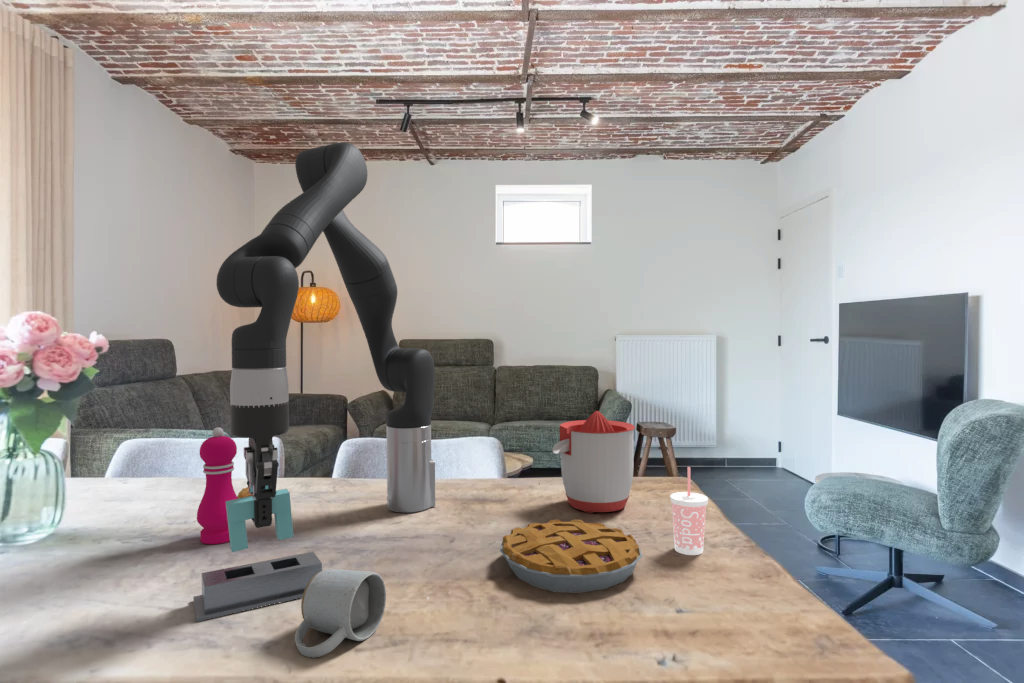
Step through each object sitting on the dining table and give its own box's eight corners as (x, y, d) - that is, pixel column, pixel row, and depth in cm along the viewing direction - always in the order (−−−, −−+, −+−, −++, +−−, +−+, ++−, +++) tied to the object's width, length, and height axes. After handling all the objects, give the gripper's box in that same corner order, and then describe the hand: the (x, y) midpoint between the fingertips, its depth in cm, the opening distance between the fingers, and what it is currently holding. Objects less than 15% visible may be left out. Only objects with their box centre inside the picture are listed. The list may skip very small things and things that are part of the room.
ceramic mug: (335, 611, 80) (334, 554, 79) (388, 622, 77) (386, 563, 76) (277, 654, 70) (275, 589, 69) (335, 668, 67) (333, 600, 66)
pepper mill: (224, 547, 103) (222, 431, 103) (187, 544, 105) (185, 430, 104) (250, 533, 110) (248, 424, 110) (216, 530, 112) (214, 423, 111)
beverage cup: (664, 551, 100) (664, 468, 100) (678, 540, 105) (678, 461, 105) (700, 559, 97) (700, 473, 96) (713, 548, 101) (713, 466, 101)
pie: (545, 612, 80) (545, 575, 79) (478, 556, 99) (477, 526, 99) (671, 579, 90) (671, 546, 89) (588, 534, 109) (588, 507, 109)
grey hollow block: (319, 574, 92) (318, 548, 92) (330, 591, 86) (330, 563, 86) (193, 601, 83) (192, 572, 83) (196, 622, 77) (196, 591, 77)
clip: (290, 532, 87) (286, 488, 87) (293, 537, 85) (289, 492, 85) (230, 547, 83) (225, 501, 83) (232, 552, 81) (227, 505, 81)
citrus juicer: (542, 499, 131) (541, 408, 130) (614, 492, 136) (614, 404, 135) (568, 521, 116) (567, 418, 115) (649, 513, 121) (649, 414, 120)
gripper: (298, 403, 80) (299, 533, 80) (279, 394, 92) (280, 506, 92) (236, 407, 76) (238, 543, 76) (225, 397, 88) (226, 514, 88)
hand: (261, 522), depth 84 cm, fingers closed on clip, 2 cm apart
